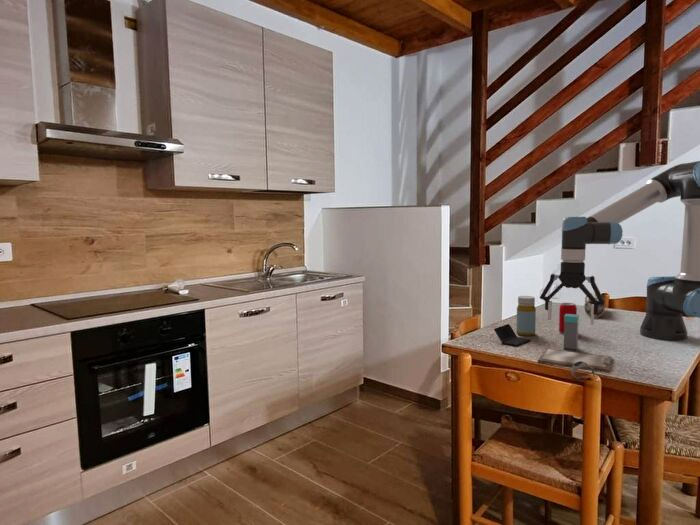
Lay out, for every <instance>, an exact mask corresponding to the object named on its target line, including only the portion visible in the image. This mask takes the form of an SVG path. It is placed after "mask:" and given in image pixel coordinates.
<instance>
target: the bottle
mask: <svg viewBox="0 0 700 525" xmlns="http://www.w3.org/2000/svg"><path fill="white" fill-rule="evenodd" d="M535 299H536V298H535V296H531V295H519V296H518V297H517V307H516V334H517V335H519V336H523V337H533V336H535V334H536V322H537V321H536V320H537V319H536V318H537V317H536V316H537V315H536V314H537V313H536V306H535V305H536V304H535V301H536V300H535Z"/></svg>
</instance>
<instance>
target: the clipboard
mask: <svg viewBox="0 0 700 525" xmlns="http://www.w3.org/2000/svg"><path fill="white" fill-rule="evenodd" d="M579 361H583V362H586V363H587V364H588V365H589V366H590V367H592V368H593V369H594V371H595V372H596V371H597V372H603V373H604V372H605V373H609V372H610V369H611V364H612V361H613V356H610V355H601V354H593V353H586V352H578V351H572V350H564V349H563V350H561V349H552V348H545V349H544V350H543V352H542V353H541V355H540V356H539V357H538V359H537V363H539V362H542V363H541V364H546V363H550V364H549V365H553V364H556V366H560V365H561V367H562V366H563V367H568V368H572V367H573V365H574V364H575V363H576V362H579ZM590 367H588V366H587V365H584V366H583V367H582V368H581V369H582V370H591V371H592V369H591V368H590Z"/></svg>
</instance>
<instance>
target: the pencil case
mask: <svg viewBox="0 0 700 525" xmlns="http://www.w3.org/2000/svg"><path fill="white" fill-rule="evenodd" d="M590 293H591V294H592V295H593V297H594V298H595V299H596V300H597V301H599V300H598V298H597V296H596V294H595V292H594V291H593V292H590ZM603 299H604V300H605V298H604V297H603ZM592 304H593V303H592V302H591V300H590V299H589V298H588V297H587V296H586V295H585V298H584V304H583V308H584V312H585V314H586V315H587V316H588V317H589V318H591V305H592ZM605 311H606V308H605V303H604V304H600V305H598V313H597V315H594V319H598V318H600V317H601V316H603V315H604V314H605Z"/></svg>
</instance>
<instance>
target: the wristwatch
mask: <svg viewBox="0 0 700 525" xmlns="http://www.w3.org/2000/svg"><path fill="white" fill-rule="evenodd" d="M584 365H587V366H588V367H590V366H589V365H588V364H587V363H586V362H583V361H579V362H576V363H575V364H574V365H573V367H571V370H570V374H571V376H572V377H573V378H574V379H575V380H585V379H584V378H585V376H586V375H579V376H575V372H576V371H577V370H580V369H582V367H583V366H584ZM590 368H591V369H592V370H591V372H590V373H589V374H593V376H594V375H595V372H596V370H594V369H593V368H592V367H590Z"/></svg>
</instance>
